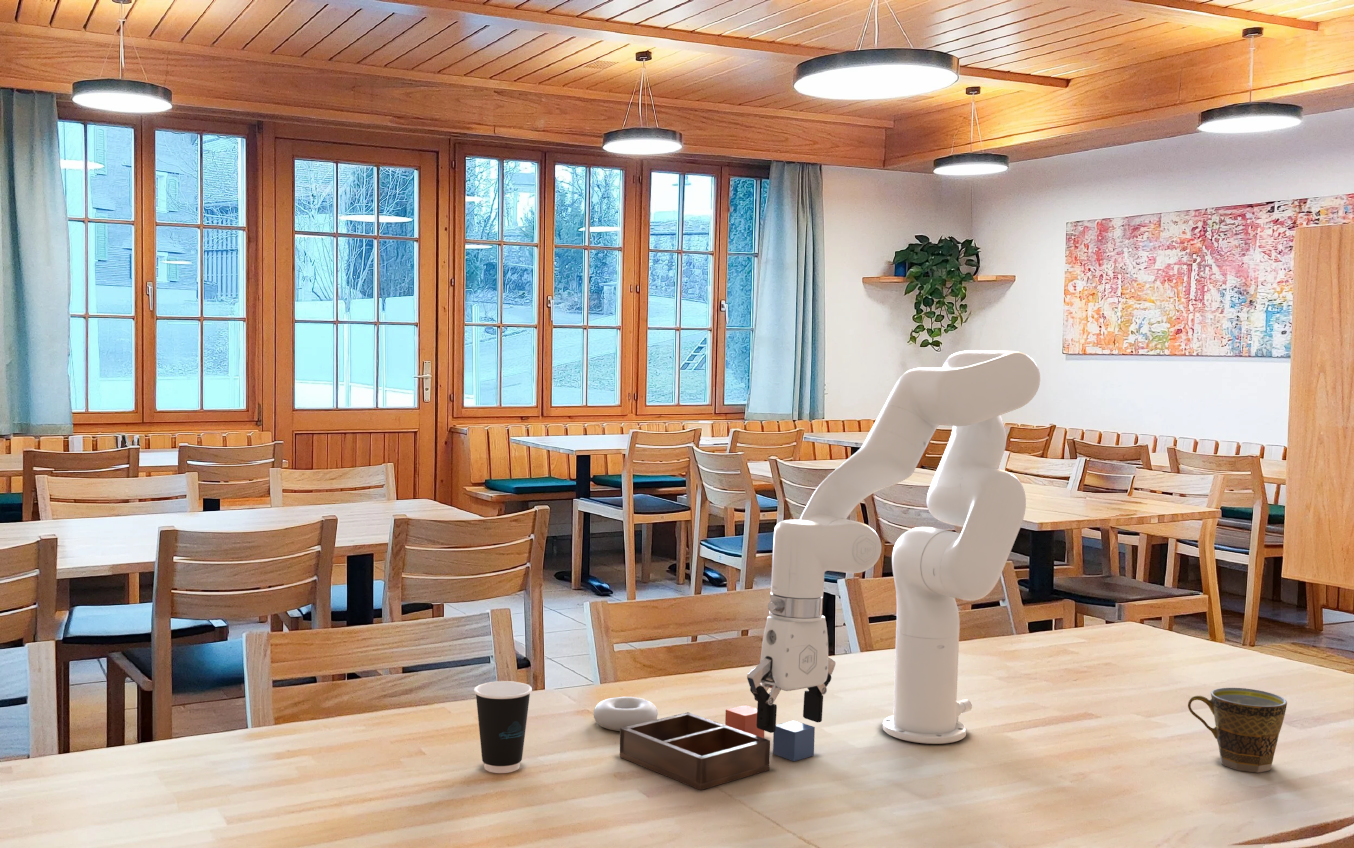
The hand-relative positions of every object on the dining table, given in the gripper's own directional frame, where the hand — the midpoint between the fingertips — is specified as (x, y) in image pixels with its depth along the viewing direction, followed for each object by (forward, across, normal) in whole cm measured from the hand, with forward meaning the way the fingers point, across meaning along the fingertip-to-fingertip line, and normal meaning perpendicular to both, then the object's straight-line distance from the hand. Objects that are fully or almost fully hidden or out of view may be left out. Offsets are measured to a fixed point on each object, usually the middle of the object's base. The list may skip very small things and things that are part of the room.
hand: (789, 724), depth 179 cm
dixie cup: (+6, -35, +21) cm, 41 cm away
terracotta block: (+4, +1, +10) cm, 11 cm away
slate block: (+4, +1, 0) cm, 5 cm away
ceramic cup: (+3, +49, -42) cm, 65 cm away
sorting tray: (+5, -13, +6) cm, 15 cm away
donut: (+5, -9, +26) cm, 28 cm away
